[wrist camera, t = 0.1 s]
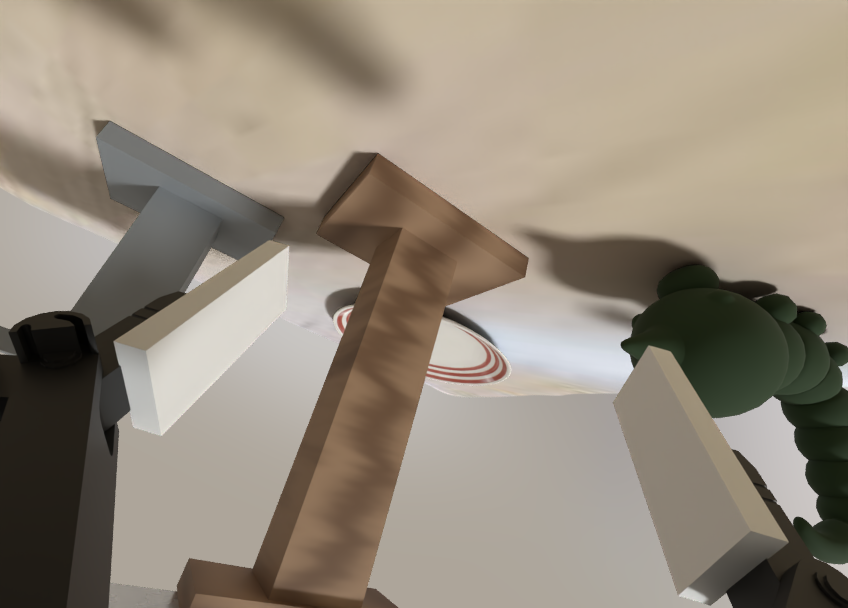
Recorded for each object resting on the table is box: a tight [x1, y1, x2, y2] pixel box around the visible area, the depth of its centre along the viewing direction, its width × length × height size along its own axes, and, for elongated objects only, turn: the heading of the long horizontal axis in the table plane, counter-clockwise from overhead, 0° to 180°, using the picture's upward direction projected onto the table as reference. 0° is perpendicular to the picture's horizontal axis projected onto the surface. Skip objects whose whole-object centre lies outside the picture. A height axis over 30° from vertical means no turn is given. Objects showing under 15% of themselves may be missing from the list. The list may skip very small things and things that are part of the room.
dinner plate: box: [333, 304, 511, 386], centre depth 60 cm, size 27×27×3 cm
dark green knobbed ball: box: [621, 265, 848, 564], centre depth 30 cm, size 9×19×25 cm
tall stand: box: [177, 154, 529, 608], centre depth 31 cm, size 16×12×30 cm
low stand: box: [0, 121, 284, 355], centre depth 39 cm, size 16×12×20 cm
